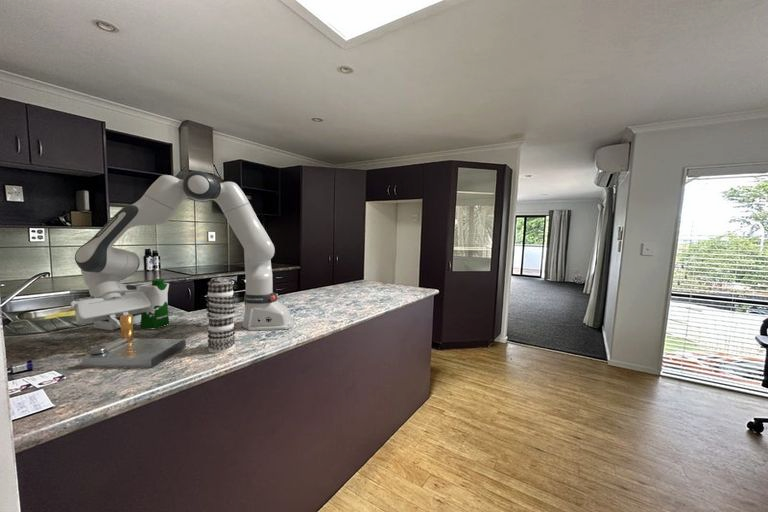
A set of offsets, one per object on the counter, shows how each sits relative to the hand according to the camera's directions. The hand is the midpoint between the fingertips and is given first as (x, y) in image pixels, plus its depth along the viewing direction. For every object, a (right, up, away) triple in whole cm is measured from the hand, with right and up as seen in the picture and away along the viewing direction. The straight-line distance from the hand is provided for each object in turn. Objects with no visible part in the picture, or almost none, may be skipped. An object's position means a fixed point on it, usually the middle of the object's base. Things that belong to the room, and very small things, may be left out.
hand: (122, 325), depth 106 cm
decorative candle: (+33, -9, +2) cm, 34 cm away
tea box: (-22, -5, +25) cm, 34 cm away
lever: (+3, -5, -7) cm, 10 cm away
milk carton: (-7, -6, +24) cm, 26 cm away
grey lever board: (+10, -9, -6) cm, 15 cm away
